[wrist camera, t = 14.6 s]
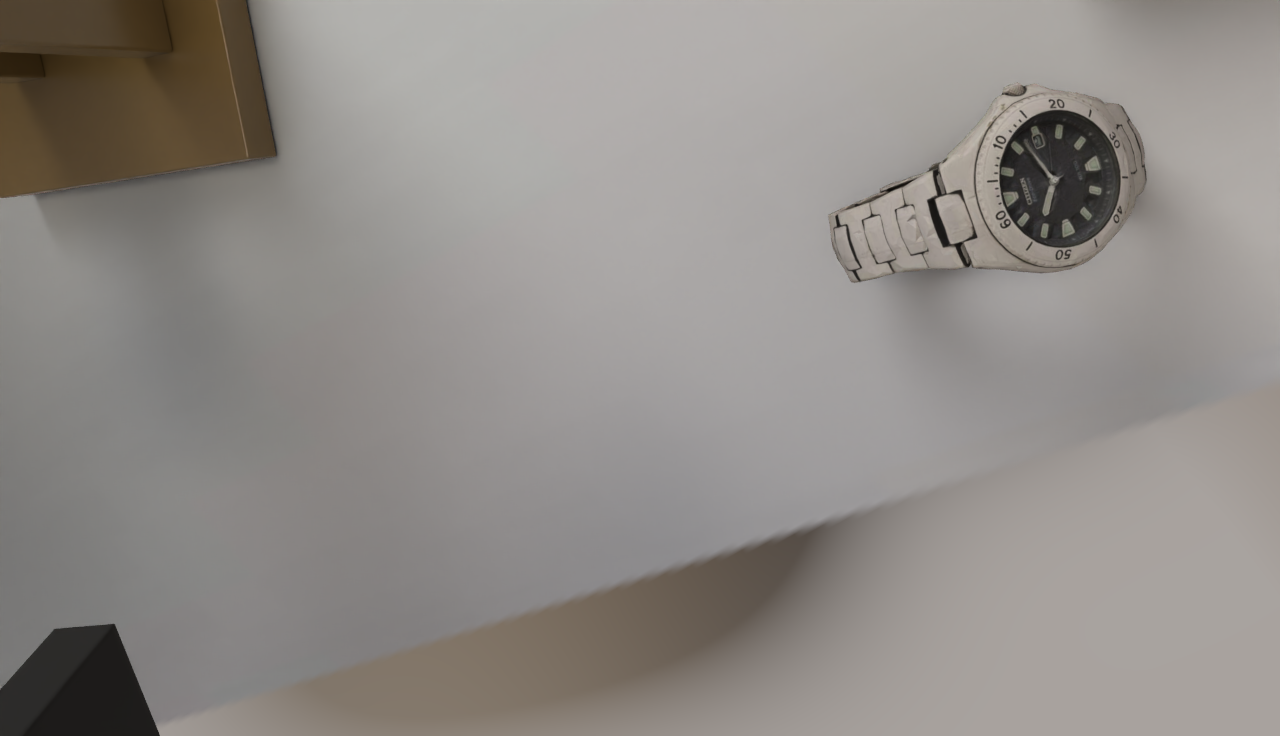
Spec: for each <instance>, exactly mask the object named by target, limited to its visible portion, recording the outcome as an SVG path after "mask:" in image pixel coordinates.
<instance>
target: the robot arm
mask: <svg viewBox="0 0 1280 736" xmlns="http://www.w3.org/2000/svg"><path fill="white" fill-rule="evenodd" d="M0 736H160V735H159V732H158V730H157V727H156V725H155V722H154V720H153V717H152V715H151V713H150V710H149V708H148V705H147V703H146V700H145V698H144V695H143V693H142V690H141V688H140V686H139V683H138V681H137V678H136V676H135V673H134V671H133V668H132V666H131V663H130V661H129V658H128V656H127V654H126V651H125V649H124V646H123V644H122V641H121V639H120V636H119V634H118V631H117V629H116V626H115V624H108V625H96V626H84V627H72V628H60V629H54V630H53V631H52V632H51V634H50V635H49V636H48V637H47V638H46V639H45V640H44V641H43V643H42V644H41V645H40V646H39V647H38V648H37V649H36V650H35V651H34V653H33V654H32V655H31V656H30V657H29V658H28V659H27V660H26V662H25V663H24V664H23V665H22V666H21V667H20V668H19V669H18V671H17V672H16V673H15V674H14V675H13V676H12V677H11V678H10V679H9V681H8V682H7V683H6V684H5V685H4V686H3V687H2V688H1V690H0Z"/></svg>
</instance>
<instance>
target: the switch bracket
mask: <svg viewBox="0 0 1280 736" xmlns="http://www.w3.org/2000/svg"><path fill="white" fill-rule="evenodd" d="M275 156H276V151H275V146H274V141H273V136H272V131H271V126H270V121H269V116H268V111H267V105H266V100H265V95H264V90H263V85H262V80H261V75H260V70H259V65H258V60H257V55H256V50H255V44H254V39H253V34H252V29H251V24H250V19H249V14H248V9H247V4H246V0H0V198H8V197H17V196H27V195H35V194H42V193H48V192H55V191H61V190H67V189H74V188H80V187H86V186H93V185H99V184H105V183H112V182H118V181H125V180H131V179H137V178H144V177H150V176H156V175H163V174H169V173H176V172H182V171H188V170H195V169H201V168H207V167H214V166H220V165H226V164H233V163H239V162H246V161H252V160H258V159H265V158H271V157H275Z"/></svg>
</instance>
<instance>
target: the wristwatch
mask: <svg viewBox="0 0 1280 736" xmlns="http://www.w3.org/2000/svg"><path fill="white" fill-rule="evenodd" d="M1144 158H1145V153H1144V147H1143V143H1142V140H1141V137H1140V135H1139V133H1138V131H1137V129H1136V128H1135V127H1134V125H1133V124H1132V122H1131V121H1130V119H1129V117H1128V115H1127V114H1126V112H1125V110H1124V108H1123V107H1122V106H1120V105H1119V104H1112V103H1105V104H1104V102H1103V101H1101V100H1100V99H1098V98H1095V97H1091V96H1087V95H1083V94H1079V93H1072V92H1064V91H1057V90H1050V89H1047V88H1045V87H1042V86H1040V85H1037V84H1030V85H1027V86H1023V85H1021V84H1019V83H1018V82H1017V83H1014V84H1011V85H1008V86H1006V87H1004V89H1003V93H1002V95H1001V96H999V97H997V98H996V99H995V100H994V101H993V102H992V104H991V106H990V107H989V109H988V111H987V113H986V114H985V116H984V117H983V118H982V119H981V121H980V122H979V123H978V124H977V125H976V126H975V127H974V128H973V129H972V131H971V132H970V133H969V134H968V135H967V136H966V137H965V138H964V139H963V140H962V141H961V142H960V143H959V144H958V145H957V146H956V147H955V148H954V149H953V150H952V151H951V152H950V153H949V154H948V156H947V158H946V159H945V160H943V161H942V162H939V163H936V164H933V165H932V166H931V168H930V169H929V171H927V172H925V173H923V174H920V175H917V176H915V177H910V178H908V179H906V180H903V181H899V182H895V183H891V184H889V185H887V186H885V187H883V188H881V189H880V193H878V194H875V195H873V196H870V197H868V198H865V199H863V200H861V201H859V202H856V203H854V204H852V205H850V206H847V207H844V208H842V209H840V210H838V211H836V212H833V213H831V214H830V215H828V217H829V223H830V231H831V240H832V246H833V249H834V252H835V254H836V256H837V259H838V260H839V262H840V263H841V265H842V266H843V268H844V269H845V271H846V273H847V275H848V277H849V279H850V281H851V282H852V283H856V282H861V281H866V280H871V279H875V278H879V277H882V276H886V275H890V274H894V273H898V272H907V271H919V270H925V269H948V270H955V269H958V268H965V267H969V266H970V265H971V264H972V267H973V268H978V269H1000V270H1012V271H1023V272H1033V273H1049V272H1058V271H1063V270H1068V269H1072V268H1074V267H1077V266H1079V265H1081V264H1084V263H1085V262H1087V261H1089V260H1090V259H1092V258H1093V257H1094V256H1095V255H1096V254H1098V253H1099V252H1100V251H1101V250H1102V249H1103V248H1104V247H1105V246H1106V244H1107V243H1108V242H1109V241H1110V240H1111V239H1112V238H1113V237H1114V236H1115V235H1116V233H1117V232H1118V231H1119V230H1120V229H1121V227H1122V226H1123V224H1124V223H1125V222H1126V220H1127V219H1128V217H1129V216H1130V214H1131V213H1132V211H1133V208H1134V205H1135V201H1136V197H1137V196H1138V195H1139V194H1141V193H1142V191H1143V189H1144V186H1145V184H1146V180H1147V179H1146V169H1145V162H1144Z"/></svg>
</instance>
